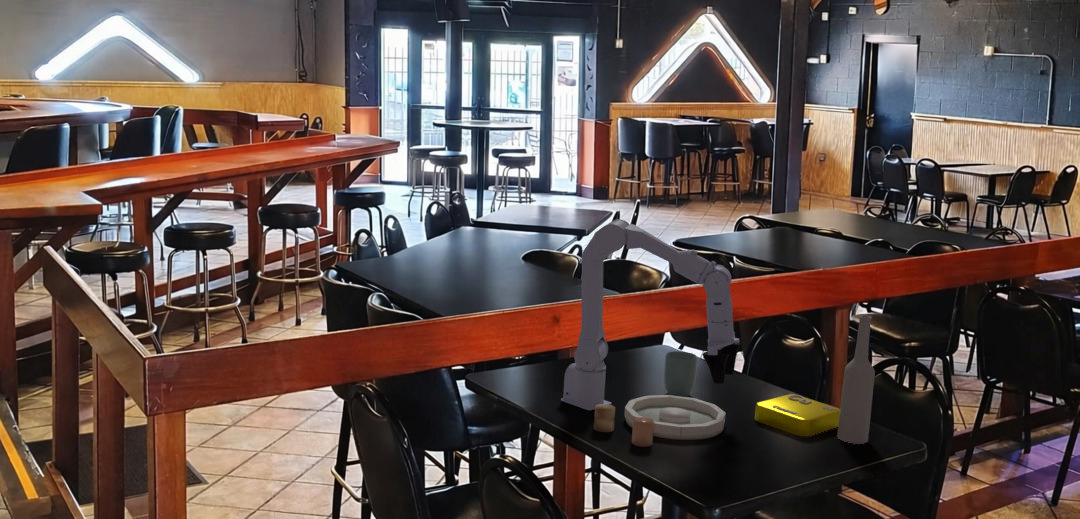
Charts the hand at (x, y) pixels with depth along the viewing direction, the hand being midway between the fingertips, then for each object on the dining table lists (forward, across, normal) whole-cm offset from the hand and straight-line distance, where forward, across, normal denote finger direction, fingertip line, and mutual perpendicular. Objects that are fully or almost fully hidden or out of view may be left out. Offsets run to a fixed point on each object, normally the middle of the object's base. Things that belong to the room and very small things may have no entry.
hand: (723, 378), depth 237 cm
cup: (+9, +14, +16) cm, 23 cm away
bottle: (+14, +5, -27) cm, 31 cm away
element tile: (+13, +10, -14) cm, 21 cm away
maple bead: (+7, -20, +22) cm, 30 cm away
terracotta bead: (+8, -24, +11) cm, 28 cm away
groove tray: (+9, -8, +10) cm, 15 cm away
